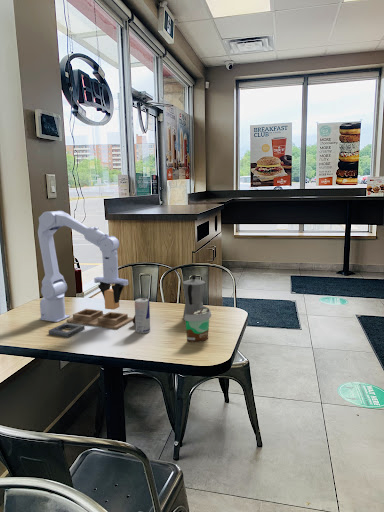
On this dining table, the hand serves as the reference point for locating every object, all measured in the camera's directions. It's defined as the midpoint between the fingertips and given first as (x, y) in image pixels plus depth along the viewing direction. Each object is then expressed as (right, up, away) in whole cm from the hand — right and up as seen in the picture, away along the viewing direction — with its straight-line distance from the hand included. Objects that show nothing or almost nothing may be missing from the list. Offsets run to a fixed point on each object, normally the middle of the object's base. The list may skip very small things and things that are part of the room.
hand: (112, 301), depth 151 cm
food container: (+35, -11, -16) cm, 40 cm away
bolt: (+12, -8, +4) cm, 15 cm away
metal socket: (-15, -10, -8) cm, 20 cm away
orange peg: (0, -2, 0) cm, 2 cm away
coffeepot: (+32, -8, +5) cm, 33 cm away
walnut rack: (-5, -8, +4) cm, 10 cm away
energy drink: (+13, -10, -8) cm, 19 cm away
